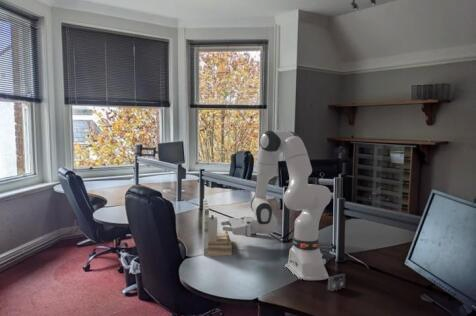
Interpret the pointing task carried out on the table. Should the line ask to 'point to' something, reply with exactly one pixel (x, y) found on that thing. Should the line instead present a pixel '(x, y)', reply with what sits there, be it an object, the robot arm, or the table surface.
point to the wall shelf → (223, 240)
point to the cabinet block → (212, 229)
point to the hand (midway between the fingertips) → (222, 226)
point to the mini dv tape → (336, 282)
